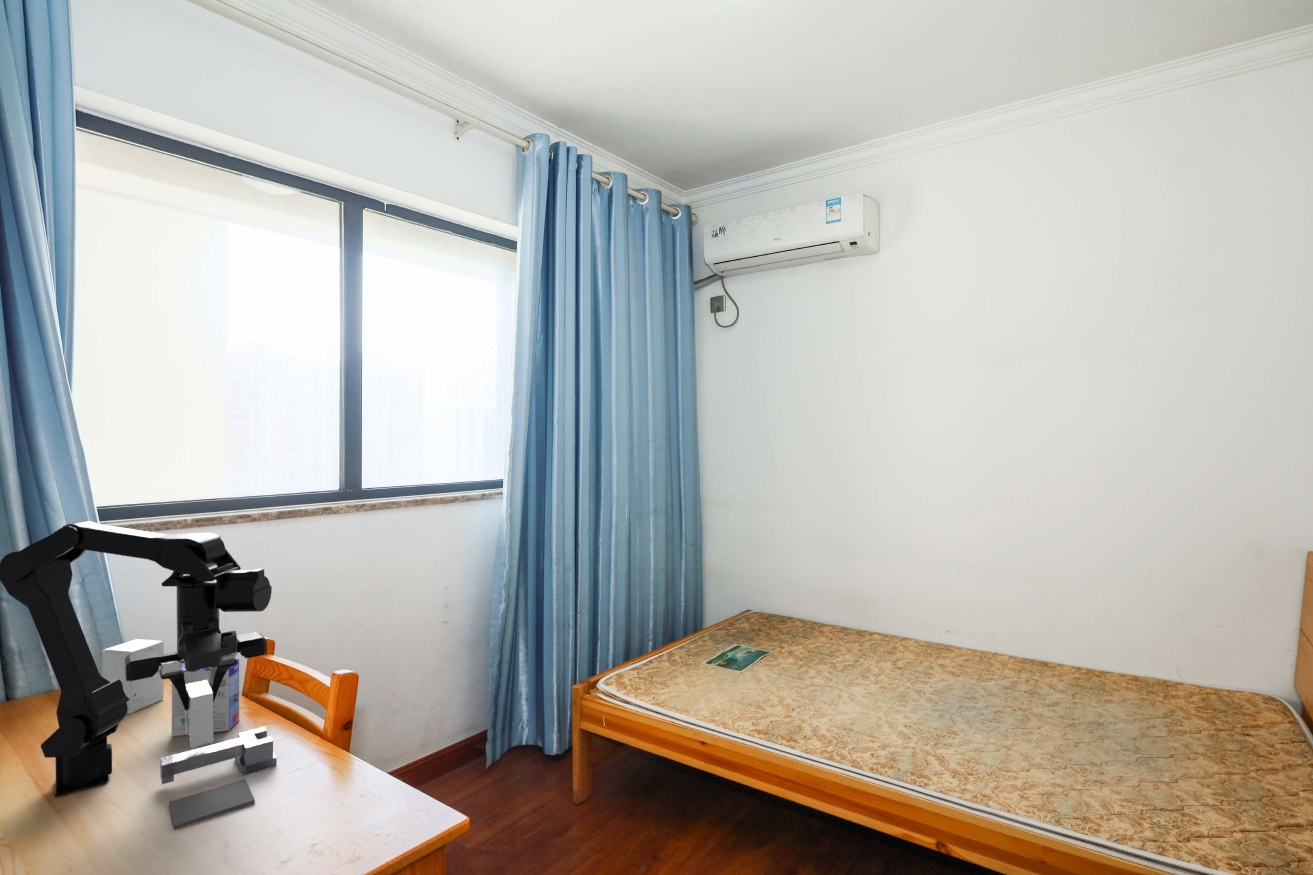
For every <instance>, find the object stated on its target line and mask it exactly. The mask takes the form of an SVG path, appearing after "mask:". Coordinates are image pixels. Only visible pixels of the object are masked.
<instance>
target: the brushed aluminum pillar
mask: <svg viewBox="0 0 1313 875" xmlns="http://www.w3.org/2000/svg"><path fill="white" fill-rule="evenodd" d="M186 690H187V696H188V710H185V732H186V735H185V736H188V740H189V742H188V743H189V747H190V749H192V748H196V747H200V746H203V745H207V744H211V743H214V732H213V692H212V690H211V688H210V686H209V683H208V681H207V680H204V681H200V682H195V683H190V684H186Z"/></svg>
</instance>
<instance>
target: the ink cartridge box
mask: <svg viewBox="0 0 1313 875" xmlns="http://www.w3.org/2000/svg"><path fill="white" fill-rule="evenodd" d="M236 659H237V661H238V663H237V665H234V666H231V667H230V668H229V669H228V670H227V672H226V674H225V675H224V677H223V679H222V682H221V684H220V687H219V689H218V692H217V695H216V698H215V700H214V703H213V733H219V732H228V731H229V732H230V730H231V729H232V728H233V727H234V726H235V725H236V724H237V723H238V722H239V721H240V659H239V658H236ZM181 667H182V669H183V671H184V677H185V684H190V683H195V682H200V681H204V680H207V681H208V683H209V686H210V676H211V667H208V668H203V669H199V670H197V671H193V672H189V671H186V669H185V663H182V666H181ZM170 736H171V737H178V736H187V735H186V732H185V709H184V706H183V704H182V701H181V699H180V696H179V694H178V692H177V690H176V688H175V686H174V685H173V683H172V682H171V735H170Z"/></svg>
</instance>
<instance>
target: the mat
mask: <svg viewBox="0 0 1313 875" xmlns="http://www.w3.org/2000/svg"><path fill="white" fill-rule="evenodd" d="M255 804H256V801H255V797H254V795H253V793H252V791H251V789H250V786H249V784H248V782H247V780H246V778H242V779H239V780H236V781H233V782H229V783H225V784H222V785H219V786H217V787H213V788H212V787H211V788H209V789H206V790H202V791H198V792H196V793H192V794H189V795H186V796H183V797H179V798H175V799H172V800H170V801H168V807H169V808H168V809H169V813H170V817H171V822H172V826H173V830H174V831H175V830H178V829H181V828H184V827H186V826H190V825H194V824H197V823H200V822H202V821H206V820H208V819H212V818H215V817H217V816H221V815H224V814H227V813H231V812H234V811H237V810H240V809H243V808H246V807H249V806H252V805H255Z"/></svg>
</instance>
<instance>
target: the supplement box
mask: <svg viewBox="0 0 1313 875" xmlns="http://www.w3.org/2000/svg"><path fill="white" fill-rule="evenodd" d="M155 649H156V652H157V655H163V654H164V649H165V648H164V640H157V639H156V640H155V639H143V638H142V639H140V638H135V639H132V640H129V641H127V642H123V643H120V644H117V645H114V646H111V647H107V648H105V649H102V650H101V651H102V652H101V654H102V655H101V657H102V660H101V667H102V668H101V673H102V674H101V676H102V677H103V678H105V679H107V680H108V681H110V682H113V681H115V680H117V679H119V680H120V681H121V682H122V685H123V690H124V693H125V694H126V696H127V697H128V698H129V699H130V700H129V701H127V702H126V703H127V707H128V711H127V713H126V714H129V715H130V714H134V712H137V711H139V710H142V709H143V708H146V707H148V706H150V705H153V704H155V703H158V702H161V701H163V700H164V697H165V696H164V695H165V694H164V690H165V688H164V686H165V685H164V680H165V679H161V678H160V674H159V671H158V672H157V673H156V674H155V675H154V676H153V677H149V678H144V679H139V680H134V681H126V677H125V658H126V657H127V656H128V655H129V654H132V653H138V652H143V651H149V650H155Z"/></svg>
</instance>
